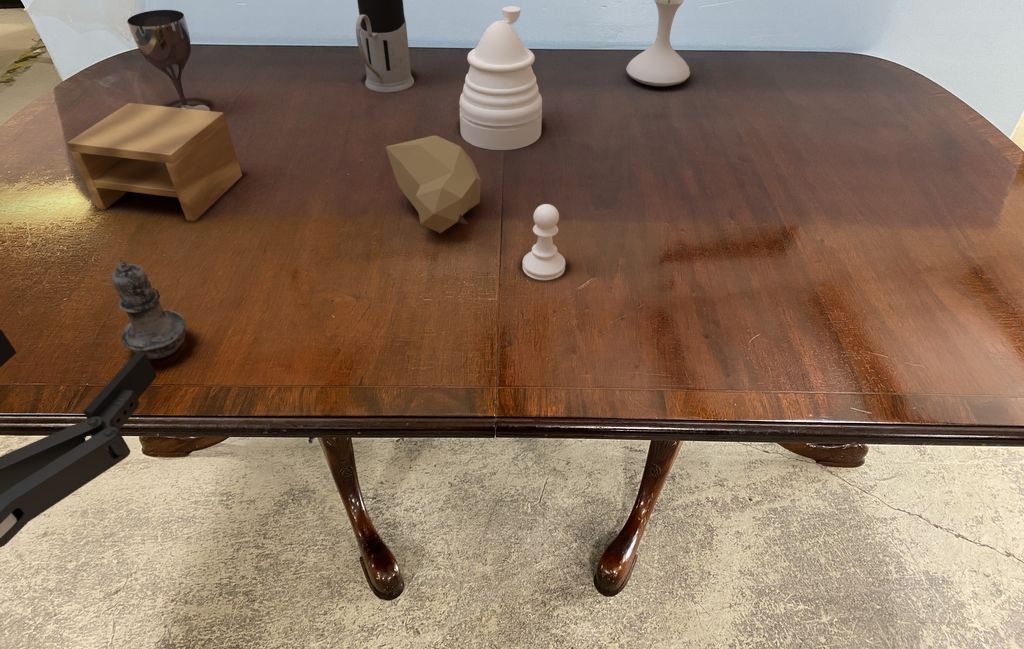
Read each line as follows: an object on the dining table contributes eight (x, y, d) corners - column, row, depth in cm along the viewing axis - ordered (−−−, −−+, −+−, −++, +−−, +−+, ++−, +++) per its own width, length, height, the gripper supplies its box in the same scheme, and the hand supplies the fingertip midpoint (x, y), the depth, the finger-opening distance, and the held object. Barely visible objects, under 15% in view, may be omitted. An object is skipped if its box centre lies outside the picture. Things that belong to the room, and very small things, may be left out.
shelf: (99, 213, 87) (66, 142, 81) (154, 169, 96) (128, 102, 89) (196, 226, 85) (170, 154, 79) (243, 180, 94) (223, 112, 87)
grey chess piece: (141, 385, 65) (89, 288, 57) (129, 349, 68) (79, 254, 60) (203, 361, 67) (162, 265, 59) (188, 328, 71) (148, 234, 63)
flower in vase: (636, 64, 128) (656, -87, 111) (695, 74, 124) (724, -80, 107) (613, 88, 119) (631, -72, 102) (676, 100, 115) (704, -64, 99)
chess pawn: (537, 254, 81) (540, 189, 75) (572, 269, 79) (578, 203, 73) (513, 275, 78) (514, 209, 72) (549, 291, 76) (553, 224, 70)
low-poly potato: (418, 186, 94) (353, 179, 84) (456, 120, 89) (392, 105, 79) (480, 257, 88) (418, 258, 79) (525, 191, 83) (464, 184, 74)
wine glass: (173, 102, 113) (141, 9, 103) (220, 103, 113) (192, 10, 103) (153, 123, 107) (117, 26, 97) (201, 124, 107) (170, 27, 97)
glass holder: (421, 75, 123) (413, -13, 113) (392, 107, 112) (380, 13, 102) (376, 71, 124) (365, -17, 114) (344, 101, 114) (328, 8, 104)
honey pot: (509, 107, 113) (510, -8, 101) (557, 135, 105) (564, 14, 93) (445, 127, 107) (437, 7, 95) (491, 158, 99) (489, 32, 87)
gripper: (-281, 578, 45) (-28, 361, 60) (41, 659, 41) (222, 405, 57) (-380, 516, 40) (-76, 297, 55) (-23, 602, 36) (195, 341, 52)
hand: (75, 351), depth 56 cm, fingers open, 13 cm apart
